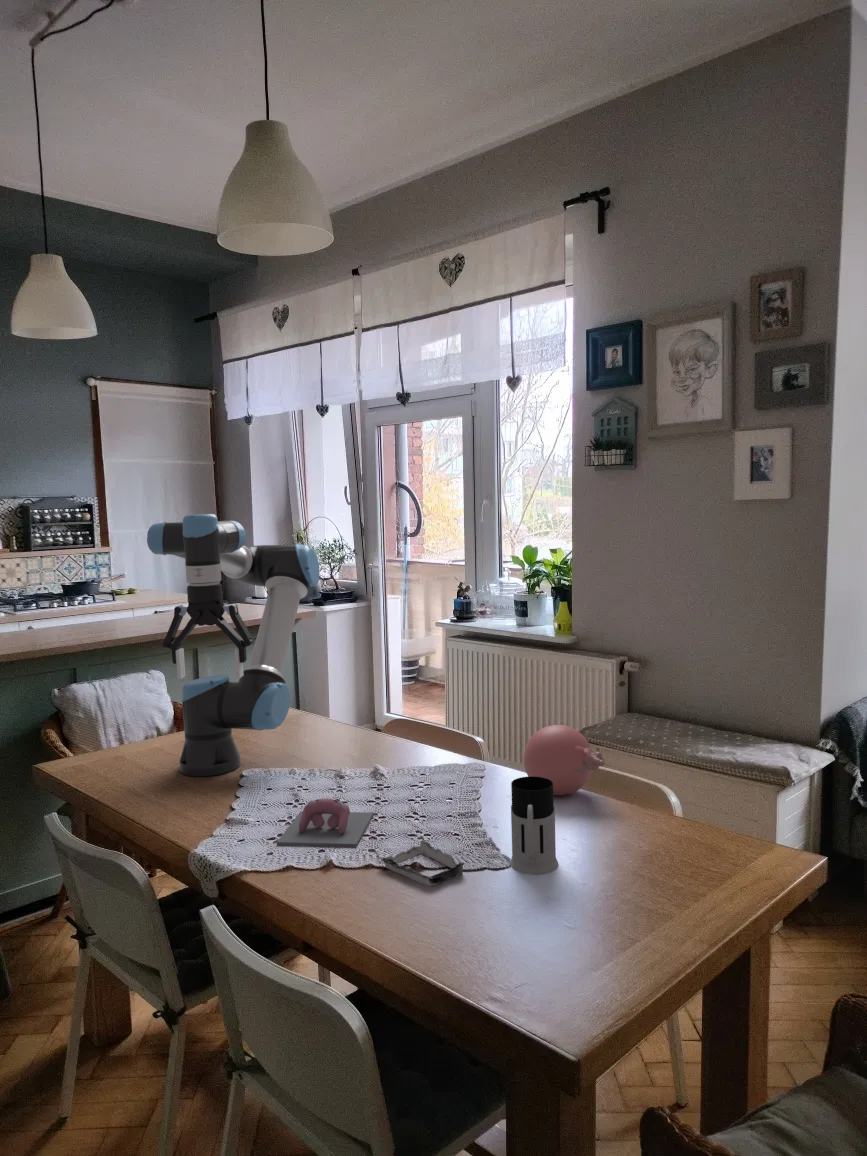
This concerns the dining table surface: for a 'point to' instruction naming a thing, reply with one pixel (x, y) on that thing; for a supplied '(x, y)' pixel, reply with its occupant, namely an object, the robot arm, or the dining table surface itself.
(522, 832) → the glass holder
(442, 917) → the dining table surface
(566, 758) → the balloon
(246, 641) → the robot arm
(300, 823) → the video game controller
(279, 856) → the dining table surface
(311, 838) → the charcoal mat
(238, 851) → the dining table surface
